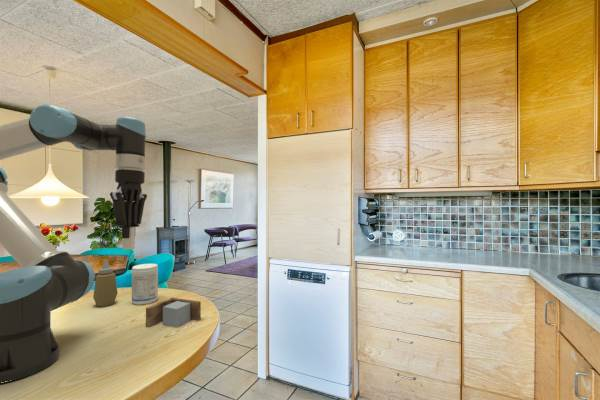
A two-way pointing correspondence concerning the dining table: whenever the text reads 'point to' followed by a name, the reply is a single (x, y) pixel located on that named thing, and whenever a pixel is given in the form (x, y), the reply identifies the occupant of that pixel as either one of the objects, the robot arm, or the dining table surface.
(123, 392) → the dining table surface
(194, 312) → the corner fence
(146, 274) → the supplement tub
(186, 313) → the grey block
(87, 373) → the dining table surface
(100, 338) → the dining table surface
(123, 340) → the dining table surface
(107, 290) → the squeeze bottle
